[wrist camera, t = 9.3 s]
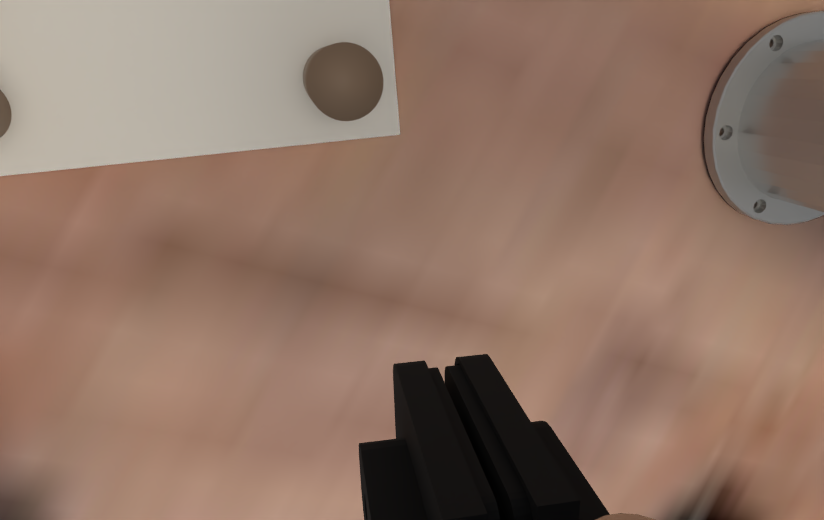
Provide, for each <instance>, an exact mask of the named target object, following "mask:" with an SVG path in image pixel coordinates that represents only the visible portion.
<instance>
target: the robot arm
mask: <svg viewBox="0 0 824 520" xmlns="http://www.w3.org/2000/svg"><path fill="white" fill-rule="evenodd" d="M704 148H705V159H706V163H707V167H708V171H709V175H710V177H711V179H712V181H713V183H714V185H715V187H716V189H717V191H718V192H719V193H720V195H721V196H722V197H723V198H724V200H725V201H726V202H727V203H728V204H729V205H730V206H732V207H733V208H734V209H736V210H737V211H738V212H739V213H742V214H744V215H746V216H748V217H751V218H753V219H756V220H759V221H763V222H766V223H769V224H779V225H791V224H798V223H804V222H807V221H810V220H813V219H816V218H819V217H821V216H823V215H824V11H816V12H807V13H800V14H796V15H793V16H790V17H787V18H783V19H781V20H779V21H777V22H775V23H774V24H772V25H770V26H768V27H766V28H764V29H763V30H762V31H761V32H759V33H758V34H757V35H756V36H754V37H753V38H752V39H750V40H749V41H748V42H747V43H746V44H745V45H744V46H743V47H742V49H741V50H740V51H739V52H738V53H737V54H736V55H735V56H734V57H733V59H732V60H731V62H730V63H729V65H728V66H727V68H726V69H725V71H724V73H723V74H722V76H721V77H720V80H719V82H718V84H717V86H716V88H715V91H714V93H713V95H712V98H711V101H710V105H709V109H708V112H707V116H706V123H705V132H704ZM393 381H394V403H395V426H396V439H391V440H383V441H375V442H367V443H359V460H360V475H361V489H362V501H363V511H364V520H656V519H652V518H649V517H645V516H642V515H638V514H625V513H618V514H611V515H610V514H609V513H608V511H607V510H606V508H605V507H604V505H603V504H602V502H601V501H600V499H599V498H598V496H597V495H596V493H595V492H594V490H593V489H592V487H591V486H590V484H589V483H588V481H587V480H586V479H585V477H584V476H583V474H582V473H581V471H580V470H579V468H578V467H577V465H576V464H575V462H574V461H573V459H572V458H571V456H570V455H569V453H568V452H567V450H566V449H565V447H564V446H563V445H562V443H561V442H560V440H559V439H558V437H557V436H556V434H555V433H554V431H553V430H552V428H551V427H550V426H549V425H548V423H547V422H545V421H536V422H530V420H529V419H528V417H527V415H526V414H525V412H524V411H523V409H522V407H521V406H520V404H519V403H518V401H517V399H516V398H515V396H514V395H513V393H512V392H511V390H510V388H509V387H508V385H507V384H506V382H505V380H504V379H503V377H502V376H501V374H500V373H499V371H498V369H497V368H496V366H495V365H494V363H493V361H492V360H491V358H490V357H489V356H488V354H483V355H474V356H464V357H456V360H455V366H447V367H446V368H445V383H444V381H443V378H442V376H441V374H440V372H439V369H438V368H428V367H427V364H426V362H425V361H417V362H408V363H398V364H394V366H393Z"/></svg>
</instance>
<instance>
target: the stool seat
mask: <svg viewBox="0 0 824 520" xmlns="http://www.w3.org/2000/svg"><path fill="white" fill-rule="evenodd" d="M392 135H400V126H399V114H398V102H397V90H396V78H395V65H394V53H393V41H392V29H391V17H390V5H389V0H0V176H7V175H16V174H26V173H35V172H45V171H55V170H64V169H74V168H84V167H93V166H103V165H113V164H122V163H132V162H141V161H151V160H161V159H170V158H180V157H190V156H199V155H209V154H219V153H228V152H238V151H247V150H257V149H267V148H276V147H286V146H296V145H305V144H315V143H325V142H334V141H344V140H353V139H363V138H373V137H382V136H392Z"/></svg>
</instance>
